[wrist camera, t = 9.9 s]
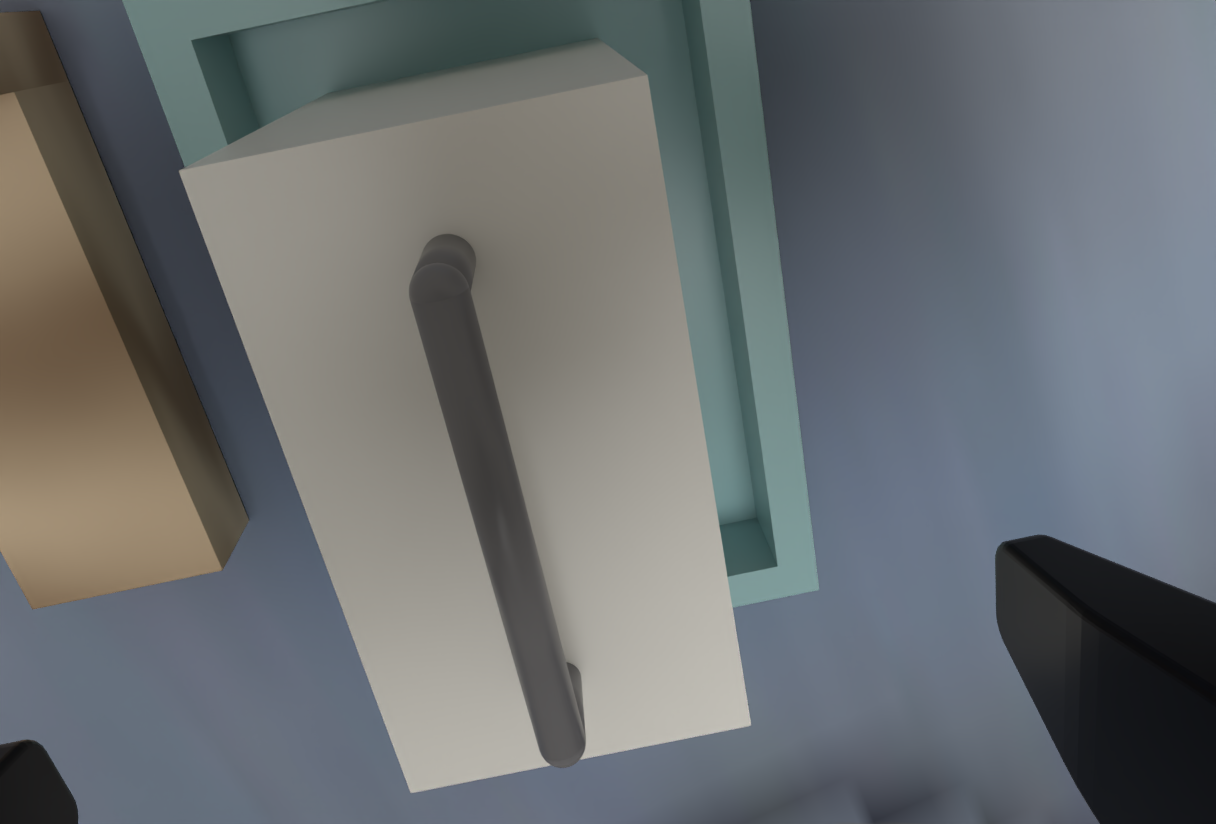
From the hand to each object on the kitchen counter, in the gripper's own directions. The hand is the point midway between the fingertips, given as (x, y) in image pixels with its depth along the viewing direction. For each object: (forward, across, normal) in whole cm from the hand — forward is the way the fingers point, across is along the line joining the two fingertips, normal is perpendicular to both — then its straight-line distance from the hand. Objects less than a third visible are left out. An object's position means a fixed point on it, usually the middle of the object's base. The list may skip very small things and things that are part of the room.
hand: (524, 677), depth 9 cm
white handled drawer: (+11, 0, 0) cm, 11 cm away
